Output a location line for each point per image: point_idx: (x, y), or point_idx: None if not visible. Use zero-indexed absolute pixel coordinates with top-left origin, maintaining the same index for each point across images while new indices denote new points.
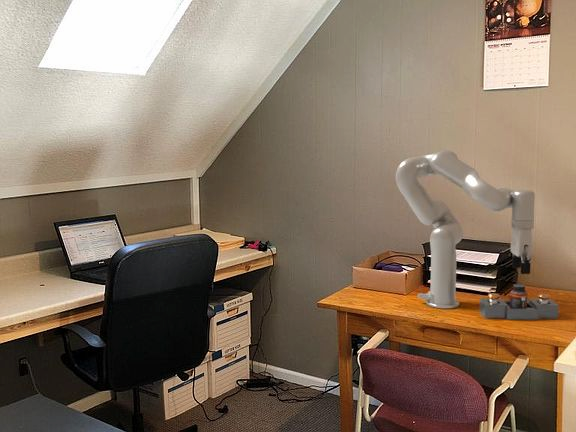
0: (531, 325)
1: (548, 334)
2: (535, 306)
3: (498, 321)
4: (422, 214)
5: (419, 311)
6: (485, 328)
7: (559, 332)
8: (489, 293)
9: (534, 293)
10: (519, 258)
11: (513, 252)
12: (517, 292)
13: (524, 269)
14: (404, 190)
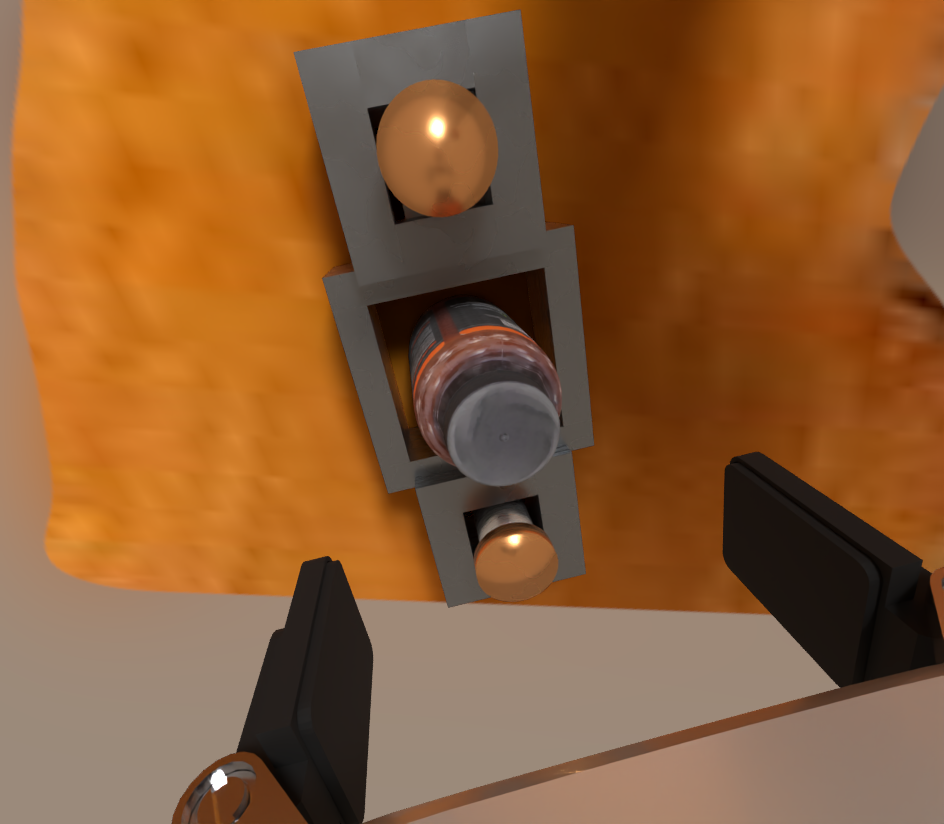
0: (261, 414)
1: (116, 492)
2: (424, 480)
3: (269, 199)
4: None
5: None
6: (21, 64)
7: (187, 544)
8: (477, 102)
9: (909, 467)
10: (837, 653)
11: (742, 791)
12: (434, 397)
13: (266, 664)
14: None
